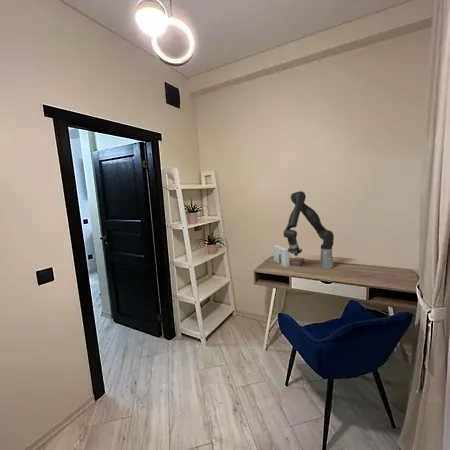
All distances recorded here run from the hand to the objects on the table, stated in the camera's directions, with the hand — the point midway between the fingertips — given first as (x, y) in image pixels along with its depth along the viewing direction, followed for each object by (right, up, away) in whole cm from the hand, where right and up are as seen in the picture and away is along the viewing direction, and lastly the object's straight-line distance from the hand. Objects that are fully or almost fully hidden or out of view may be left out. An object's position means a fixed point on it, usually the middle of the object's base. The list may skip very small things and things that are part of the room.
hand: (296, 254), depth 232 cm
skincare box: (-11, -10, +10) cm, 18 cm away
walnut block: (-1, -9, 0) cm, 9 cm away
